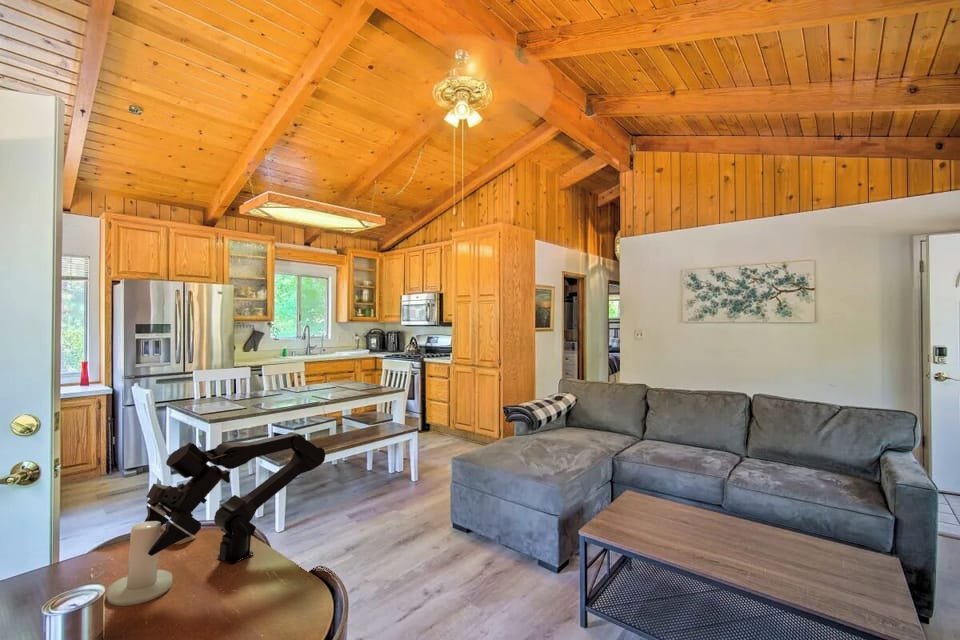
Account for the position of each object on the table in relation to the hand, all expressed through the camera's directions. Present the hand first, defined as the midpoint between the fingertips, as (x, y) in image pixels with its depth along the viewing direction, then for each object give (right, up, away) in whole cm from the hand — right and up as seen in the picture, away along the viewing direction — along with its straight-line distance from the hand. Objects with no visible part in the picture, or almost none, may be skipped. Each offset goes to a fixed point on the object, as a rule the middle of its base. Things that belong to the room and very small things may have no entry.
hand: (142, 548), depth 103 cm
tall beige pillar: (0, -8, 0) cm, 8 cm away
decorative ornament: (-8, -10, +24) cm, 27 cm away
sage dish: (0, -10, 0) cm, 10 cm away
